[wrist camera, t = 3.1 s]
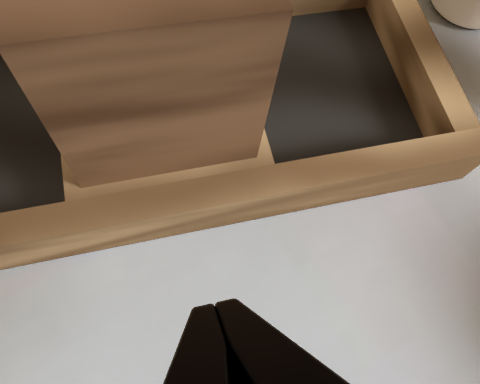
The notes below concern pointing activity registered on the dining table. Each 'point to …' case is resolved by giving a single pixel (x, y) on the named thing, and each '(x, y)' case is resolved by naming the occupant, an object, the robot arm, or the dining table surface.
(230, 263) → the dining table surface
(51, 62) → the walnut block
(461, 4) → the drinking glass
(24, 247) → the tray
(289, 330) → the dining table surface
